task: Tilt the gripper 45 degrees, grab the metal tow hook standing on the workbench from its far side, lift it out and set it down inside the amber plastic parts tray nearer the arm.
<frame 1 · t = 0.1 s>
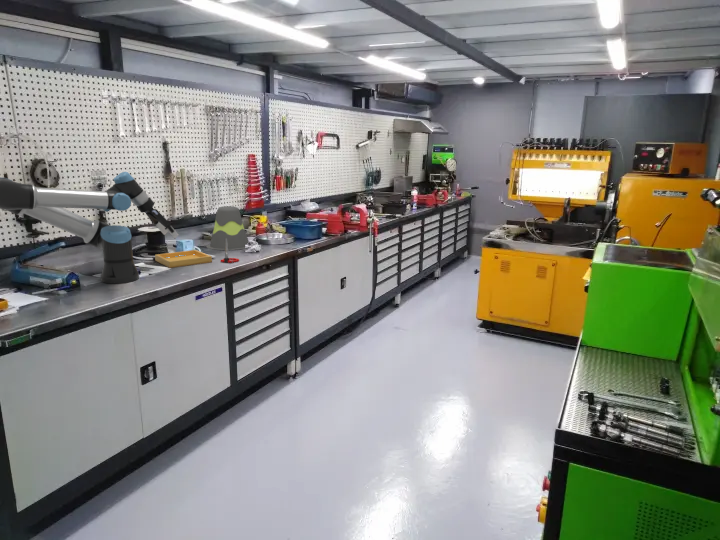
hand: (171, 235, 237), 15 cm above the workbench, tool tilted 35°, fingers open, 13 cm apart
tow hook: (230, 261, 253), on the workbench
parts tray: (183, 261, 249), on the workbench
gray green truncated cone: (229, 246, 293), on the workbench
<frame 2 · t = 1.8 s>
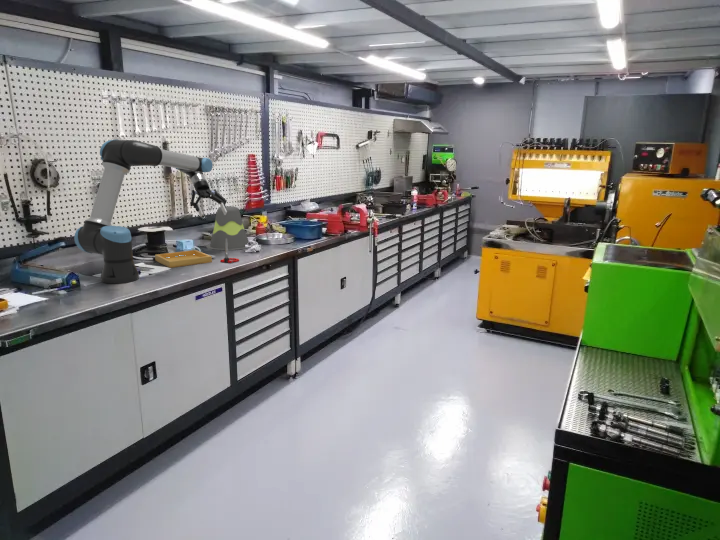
hand: (213, 214, 256), 23 cm above the workbench, tool tilted 45°, fingers open, 13 cm apart
nothing on the workbench moved.
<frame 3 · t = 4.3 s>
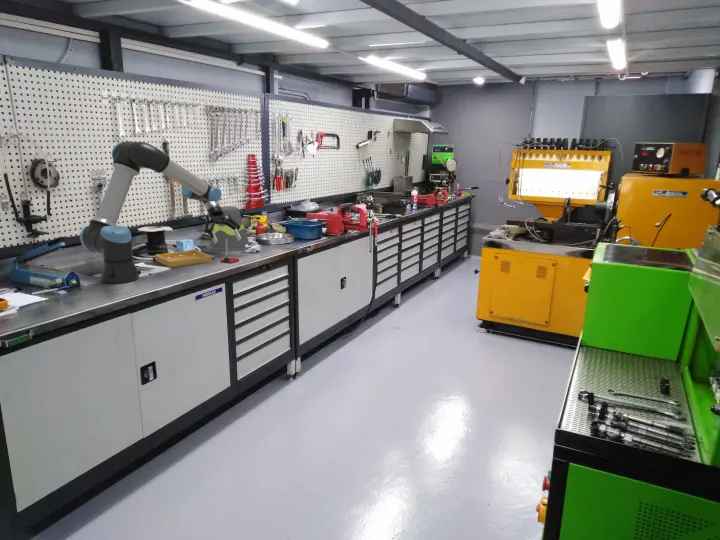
hand: (228, 241, 254), 10 cm above the workbench, tool tilted 45°, fingers open, 13 cm apart
nothing on the workbench moved.
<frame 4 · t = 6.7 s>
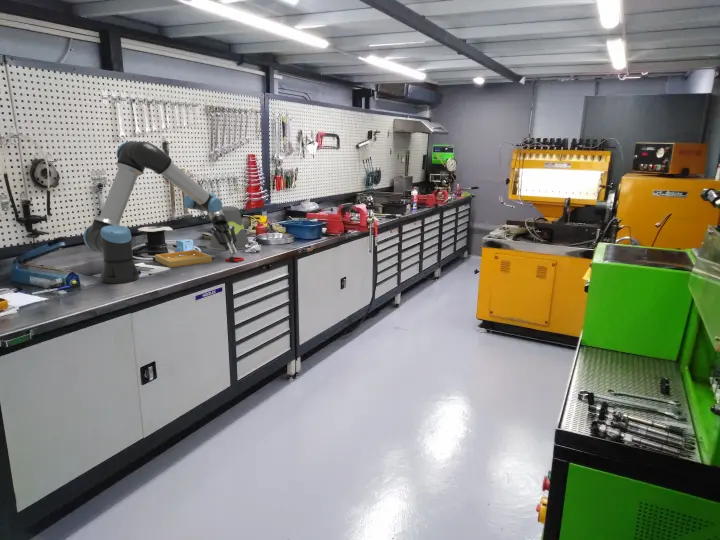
hand: (233, 253, 249), 5 cm above the workbench, tool tilted 45°, fingers closed on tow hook, 2 cm apart
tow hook: (235, 260, 255), on the workbench, touching gripper
everything else where it was.
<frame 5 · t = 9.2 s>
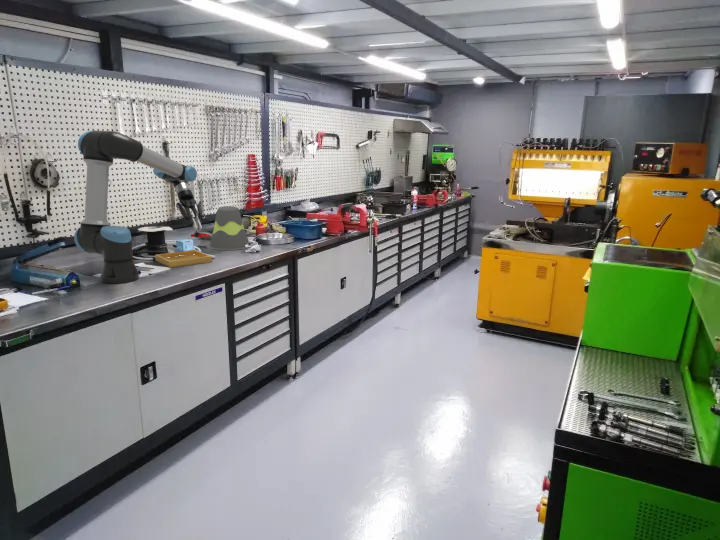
hand: (198, 229, 244), 18 cm above the workbench, tool tilted 45°, fingers closed on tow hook, 2 cm apart
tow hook: (201, 236, 250), point 13 cm above the workbench, touching gripper
everything else where it was.
when the fingers open (7 cm above the workbench, at t = 12.0 s): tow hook drops 1 cm, resting on parts tray.
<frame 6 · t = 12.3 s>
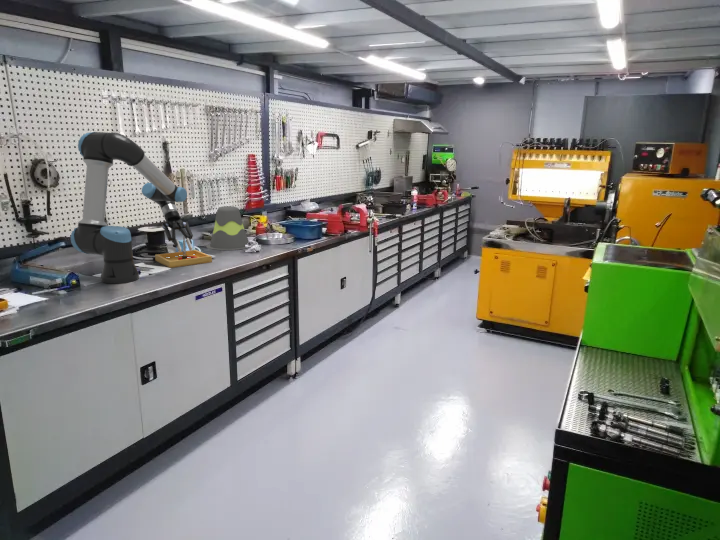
hand: (185, 249, 245), 7 cm above the workbench, tool tilted 45°, fingers open, 5 cm apart
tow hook: (188, 259, 251), point 1 cm above the workbench, touching parts tray
everything else where it was.
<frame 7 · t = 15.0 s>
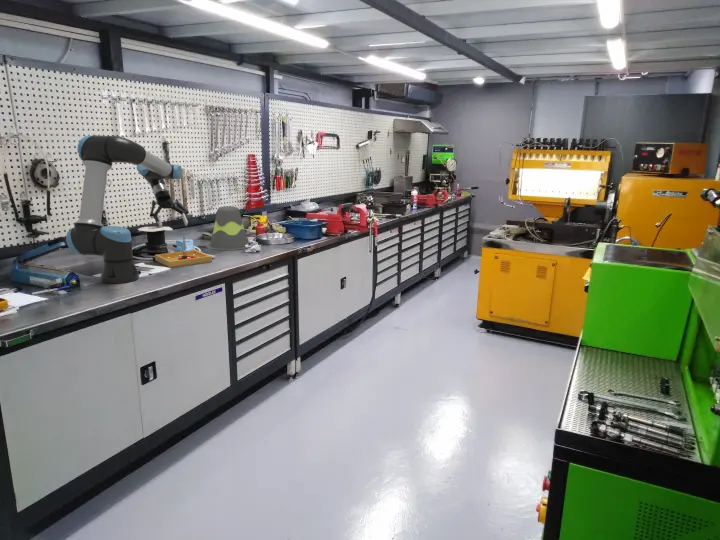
hand: (174, 225, 252), 18 cm above the workbench, tool tilted 45°, fingers open, 13 cm apart
nothing on the workbench moved.
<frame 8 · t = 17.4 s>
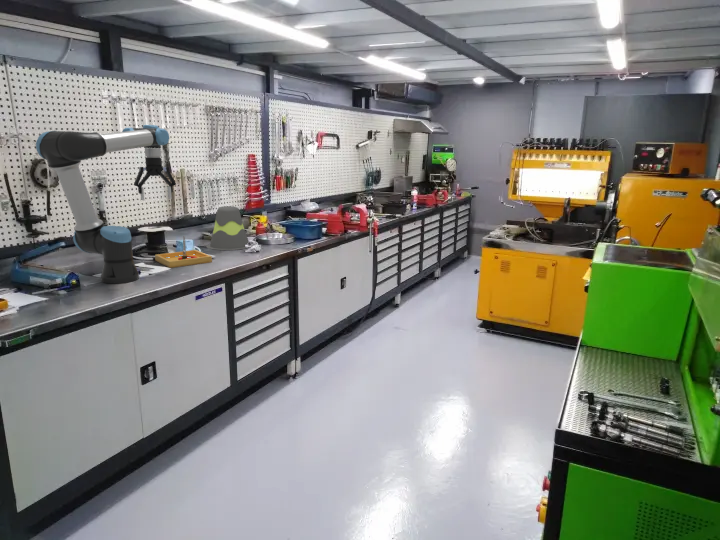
hand: (156, 199, 243), 32 cm above the workbench, tool pointing down, fingers open, 13 cm apart
nothing on the workbench moved.
at the end: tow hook inside the target area on the parts tray (2.7 cm from its centre), point 0.6 cm above the parts tray's base; the gripper is holding nothing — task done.
